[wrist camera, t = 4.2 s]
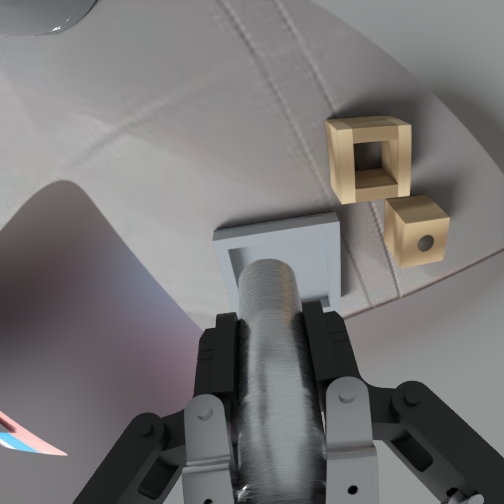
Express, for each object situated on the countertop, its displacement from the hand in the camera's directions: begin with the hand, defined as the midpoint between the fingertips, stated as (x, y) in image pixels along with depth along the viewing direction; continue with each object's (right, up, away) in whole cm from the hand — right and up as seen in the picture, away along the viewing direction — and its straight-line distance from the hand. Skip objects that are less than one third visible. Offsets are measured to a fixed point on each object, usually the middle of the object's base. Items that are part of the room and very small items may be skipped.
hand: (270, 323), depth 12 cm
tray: (+2, +1, +22) cm, 22 cm away
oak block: (+9, +12, +15) cm, 21 cm away
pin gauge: (0, +1, +2) cm, 3 cm away
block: (+16, +6, +19) cm, 25 cm away
